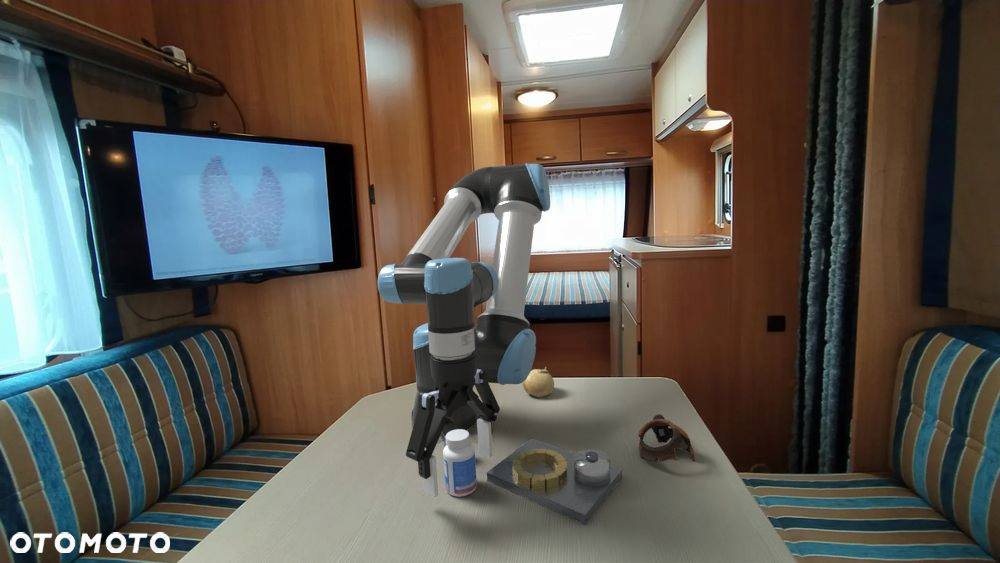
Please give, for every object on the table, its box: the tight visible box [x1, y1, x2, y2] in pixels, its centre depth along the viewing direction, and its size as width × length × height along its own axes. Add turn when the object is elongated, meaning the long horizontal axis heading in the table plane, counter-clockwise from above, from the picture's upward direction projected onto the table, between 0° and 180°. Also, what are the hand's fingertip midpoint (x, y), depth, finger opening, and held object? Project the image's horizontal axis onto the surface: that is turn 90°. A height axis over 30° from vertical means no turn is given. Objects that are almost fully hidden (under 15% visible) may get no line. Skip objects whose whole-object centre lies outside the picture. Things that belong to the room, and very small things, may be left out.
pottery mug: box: [637, 413, 696, 463], centre depth 81 cm, size 12×10×8 cm
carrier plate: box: [486, 437, 623, 525], centre depth 75 cm, size 19×14×5 cm
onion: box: [522, 366, 555, 398], centre depth 111 cm, size 8×8×7 cm
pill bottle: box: [442, 429, 478, 497], centre depth 74 cm, size 6×5×10 cm
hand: (460, 472), depth 74 cm, fingers open, 13 cm apart
